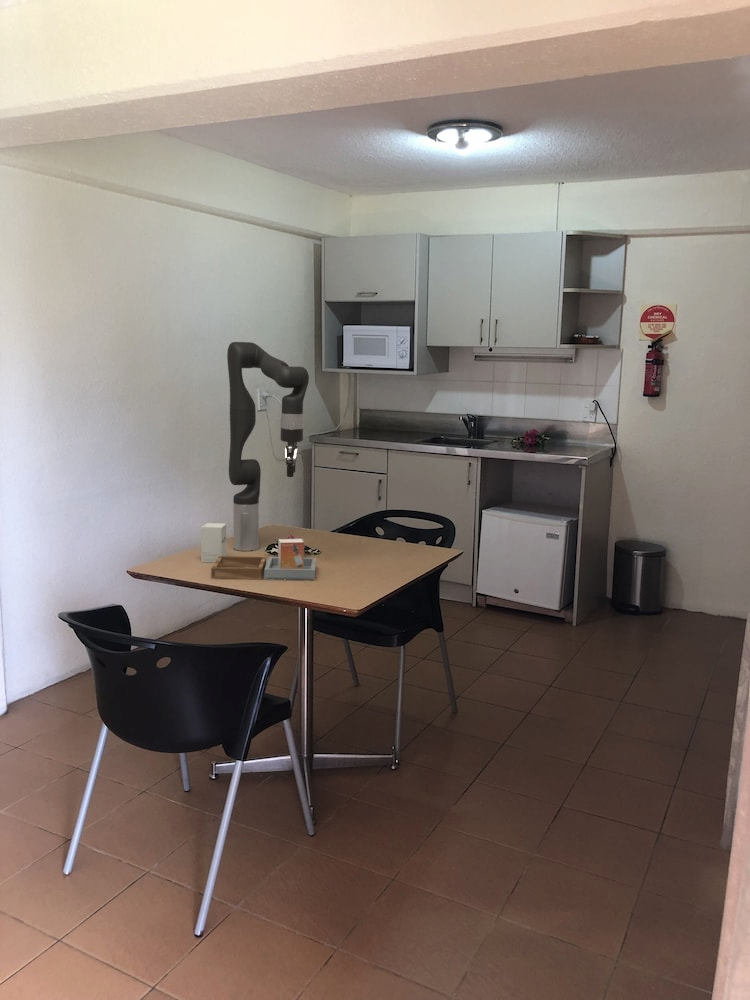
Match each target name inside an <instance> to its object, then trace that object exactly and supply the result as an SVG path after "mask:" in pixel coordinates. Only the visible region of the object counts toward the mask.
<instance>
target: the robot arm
mask: <svg viewBox="0 0 750 1000" xmlns="http://www.w3.org/2000/svg"><path fill="white" fill-rule="evenodd" d="M226 357H227V361H226V362H227V370H228V381H229V435H230V436H229V437H230V438H229V439H230V441H229V442H230V443H229V444H230V446H229V456H228V457H229V458H228V480H229V481H230V484H232V485H233V486H245V485H246V487H245V488H244V489H242V490H241V491H240V492H237V493H236V494H234V496H233V501H232V502H233V505H232V506H233V510H232V511H233V549H234V550H237V551H242V552H243V551H244V552H249V551H251V550H252V551H256V550H258V549H259V548H260V547H259V546H260V542H259V541H260V539H259V538H260V535H259V534H260V531H259V528H260V527H259V526H260V525H259V524H260V523H259V521H260V516H259V515H260V513H259V504H260V494H261V475H262V474H261V473H262V472H261V464H260V463H259V461H258V460H257V459H254V458H253V459H252V458H251V459H242V456H243V450H244V446H245V444H246V442H247V440H248V439H249V437H250V435H251V434H252V432H253V430H254V428H255V426H256V422H257V420H256V419H257V418H256V410H257V409H256V408H257V407H256V403H255V402H254V399H253V397H252V395H251V394H250V392H249V390H248V388H247V387H246V385H245V381H244V378H243V369H252V368H254V369H260V371H261V374H263V375H265V377H267V378H269V379H271V380H273V381H275V383H276V384H277V385H278V386H279V387H280V388H284V389H292V392H291V393H289V394H287V395H284V396H283V397H282V399H281V416H280V440H281V442H284V443H286V442H287V445H285V449H284V451H285V452H284V453H285V465H286V477H288V478H293V477H294V473H296V462H297V459H298V451H299V447H298V446H297V445H298V443H300V442H303V440H304V414H303V413H304V399H305V396H306V392H307V389H308V385H309V382H310V381H309V379H310V376H309V372H308V370H307V369H306V368H305V367H304V366H290V365H289V364H288V363H287V362H285V361H283V360H281V359H279V358H276V357H275V356H273V355H271V354H269V353H268V352H267V351H265V350H264V348H262V347H261V346H259V345H258V344H256V343H254V342H249V341H233V342H230V344H229V345H228V346H227V355H226Z"/></svg>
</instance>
